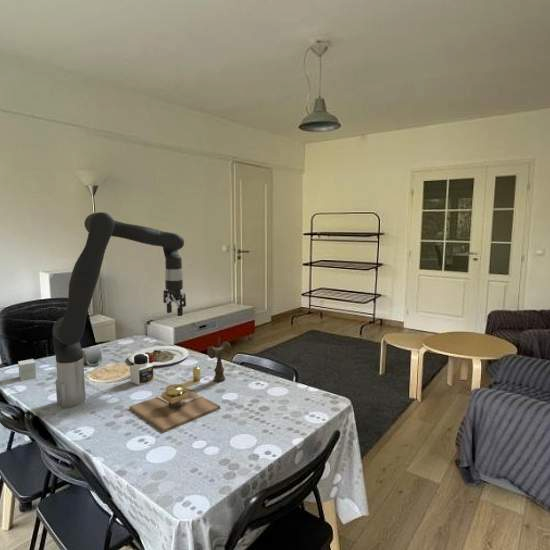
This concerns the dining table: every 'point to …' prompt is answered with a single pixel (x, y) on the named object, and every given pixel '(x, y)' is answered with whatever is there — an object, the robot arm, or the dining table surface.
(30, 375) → the product box
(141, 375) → the medicine bottle
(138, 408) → the post base
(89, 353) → the ceramic mug
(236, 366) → the dining table surface
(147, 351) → the plated food
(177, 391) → the gold piece
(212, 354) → the kendama
